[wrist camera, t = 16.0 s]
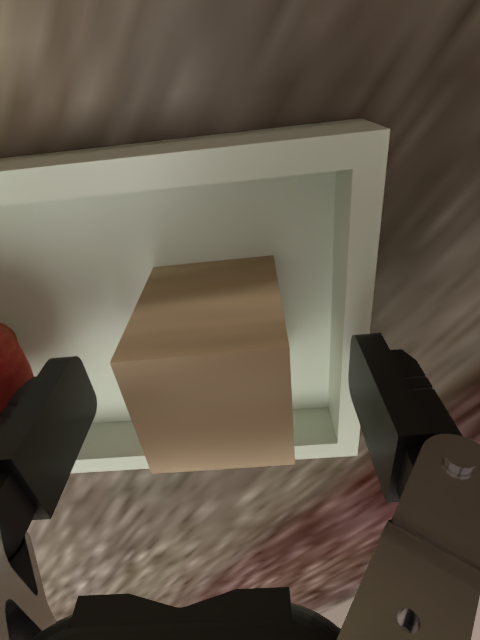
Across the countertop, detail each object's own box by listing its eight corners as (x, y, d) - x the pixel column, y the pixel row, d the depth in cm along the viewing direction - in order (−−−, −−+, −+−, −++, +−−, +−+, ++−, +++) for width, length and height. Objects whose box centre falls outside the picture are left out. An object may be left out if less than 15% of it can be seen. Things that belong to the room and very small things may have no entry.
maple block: (153, 267, 13) (109, 362, 9) (273, 255, 12) (289, 347, 8) (176, 360, 15) (151, 473, 11) (279, 352, 15) (295, 464, 10)
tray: (-214, 182, 12) (-312, 205, 10) (361, 118, 11) (390, 129, 9) (-33, 434, 18) (-69, 481, 16) (343, 408, 17) (357, 455, 15)
